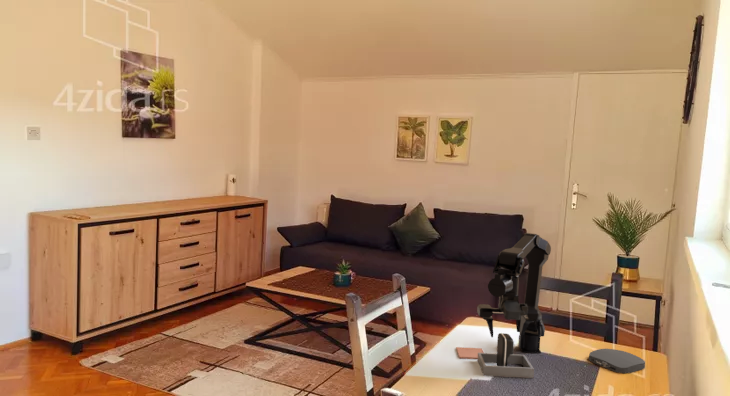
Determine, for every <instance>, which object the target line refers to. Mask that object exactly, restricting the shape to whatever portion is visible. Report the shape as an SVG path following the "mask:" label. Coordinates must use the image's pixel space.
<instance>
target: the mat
mask: <svg viewBox="0 0 730 396" xmlns="http://www.w3.org/2000/svg"><path fill="white" fill-rule="evenodd" d="M455 350H456V352H457V355H458V358H459V359H462V360H463V359H464V360H477V359H478V353H485V352H484V350H483V348H479V347H477V348H476V347H460V346H457V347H456V348H455Z"/></svg>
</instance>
